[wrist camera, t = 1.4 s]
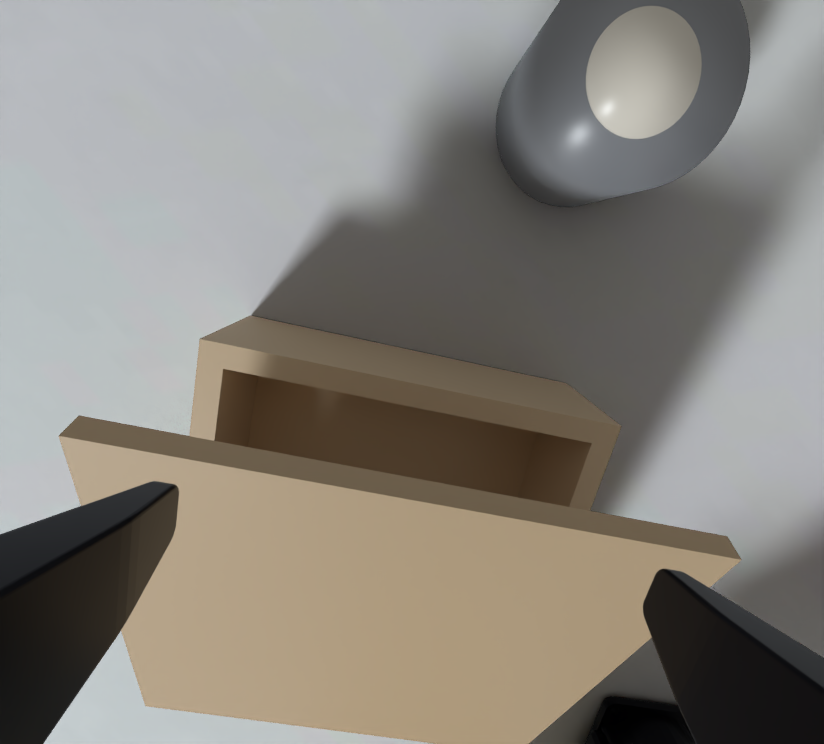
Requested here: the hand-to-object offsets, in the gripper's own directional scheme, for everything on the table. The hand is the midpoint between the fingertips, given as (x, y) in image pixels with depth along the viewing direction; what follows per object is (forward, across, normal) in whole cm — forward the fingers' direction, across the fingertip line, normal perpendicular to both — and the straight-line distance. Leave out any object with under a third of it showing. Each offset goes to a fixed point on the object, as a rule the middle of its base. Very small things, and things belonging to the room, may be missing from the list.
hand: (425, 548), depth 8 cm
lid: (+4, 0, +6) cm, 8 cm away
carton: (+12, 0, +6) cm, 13 cm away
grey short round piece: (+12, -4, -11) cm, 17 cm away
